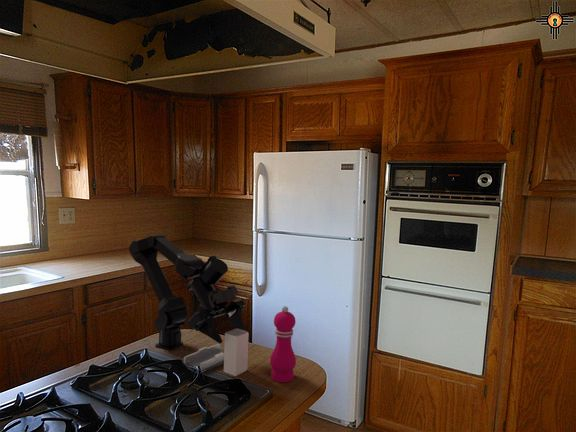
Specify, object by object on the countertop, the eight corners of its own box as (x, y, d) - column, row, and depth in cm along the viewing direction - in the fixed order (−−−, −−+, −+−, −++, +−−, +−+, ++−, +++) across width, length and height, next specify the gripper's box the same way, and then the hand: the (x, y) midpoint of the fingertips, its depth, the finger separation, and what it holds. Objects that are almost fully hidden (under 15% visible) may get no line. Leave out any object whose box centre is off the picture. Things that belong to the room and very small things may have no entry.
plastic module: (223, 371, 111) (224, 332, 110) (235, 365, 115) (236, 327, 115) (235, 376, 108) (236, 336, 108) (247, 370, 113) (248, 331, 112)
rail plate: (183, 365, 114) (183, 355, 114) (217, 350, 125) (218, 341, 125) (202, 373, 109) (202, 362, 109) (236, 357, 121) (236, 347, 121)
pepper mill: (298, 381, 107) (302, 309, 106) (273, 384, 104) (276, 310, 103) (290, 370, 113) (293, 302, 112) (266, 372, 111) (269, 303, 110)
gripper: (196, 282, 107) (224, 331, 101) (242, 273, 122) (268, 315, 116) (176, 305, 112) (202, 353, 106) (222, 294, 127) (247, 335, 121)
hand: (232, 338), depth 112 cm, fingers open, 9 cm apart
